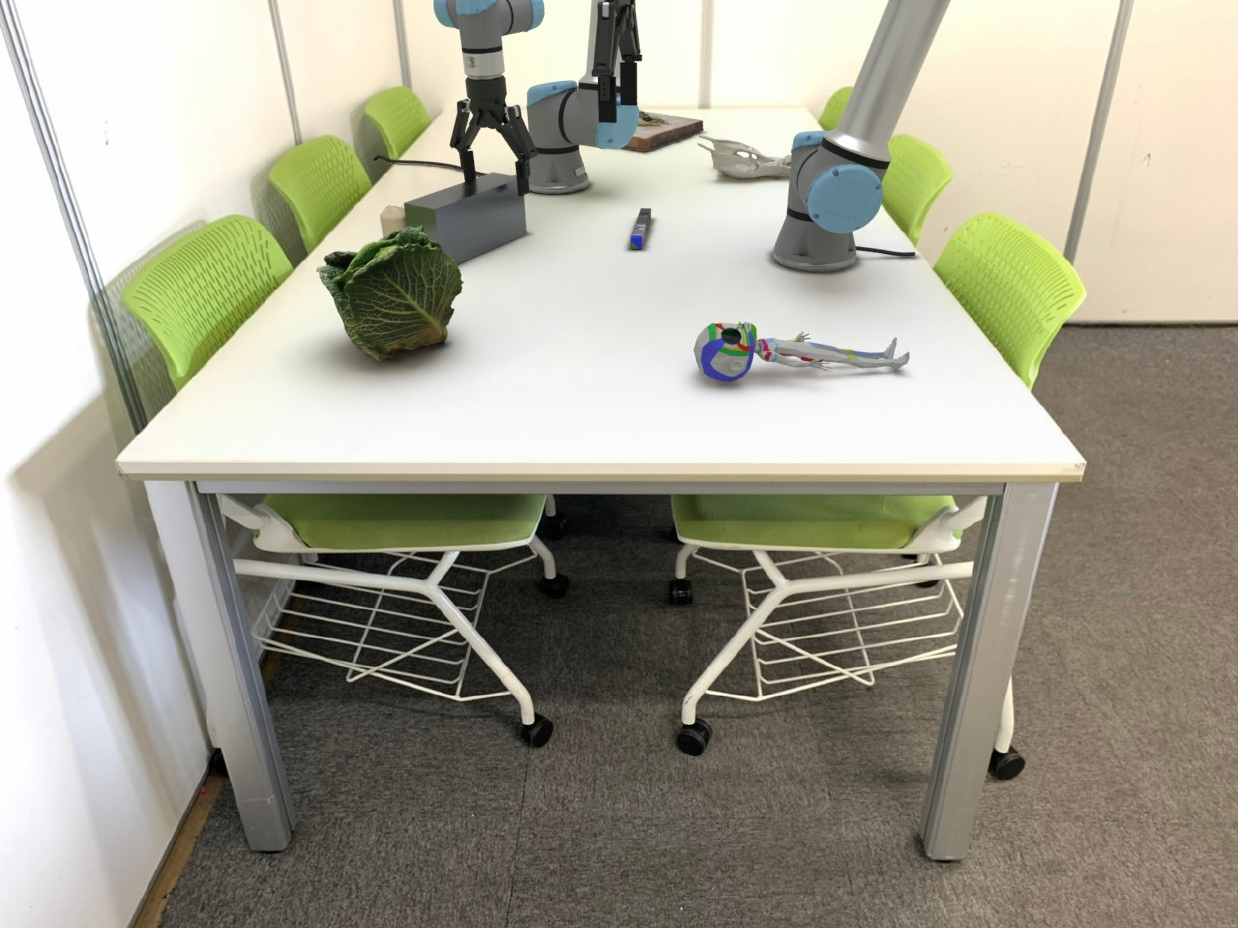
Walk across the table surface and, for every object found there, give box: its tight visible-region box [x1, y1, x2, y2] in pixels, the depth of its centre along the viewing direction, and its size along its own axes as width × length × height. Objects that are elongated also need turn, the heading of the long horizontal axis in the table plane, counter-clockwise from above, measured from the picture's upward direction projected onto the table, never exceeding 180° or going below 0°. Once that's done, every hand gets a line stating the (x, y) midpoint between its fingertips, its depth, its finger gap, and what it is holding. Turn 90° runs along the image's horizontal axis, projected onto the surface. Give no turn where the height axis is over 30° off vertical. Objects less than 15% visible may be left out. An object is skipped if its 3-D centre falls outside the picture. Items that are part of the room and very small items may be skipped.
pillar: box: [630, 207, 652, 250], centre depth 183 cm, size 2×2×20 cm
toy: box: [692, 321, 911, 383], centre depth 128 cm, size 10×8×30 cm
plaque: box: [621, 109, 705, 152], centre depth 257 cm, size 30×7×30 cm
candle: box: [379, 205, 407, 238], centre depth 170 cm, size 6×6×10 cm
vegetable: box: [315, 225, 465, 362], centre depth 134 cm, size 20×19×20 cm
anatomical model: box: [696, 134, 792, 179], centre depth 218 cm, size 15×9×25 cm
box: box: [403, 171, 528, 265], centre depth 175 cm, size 25×8×12 cm, turn 147°
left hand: (497, 189), depth 179 cm, fingers open, 13 cm apart
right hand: (618, 113), depth 143 cm, fingers open, 13 cm apart
